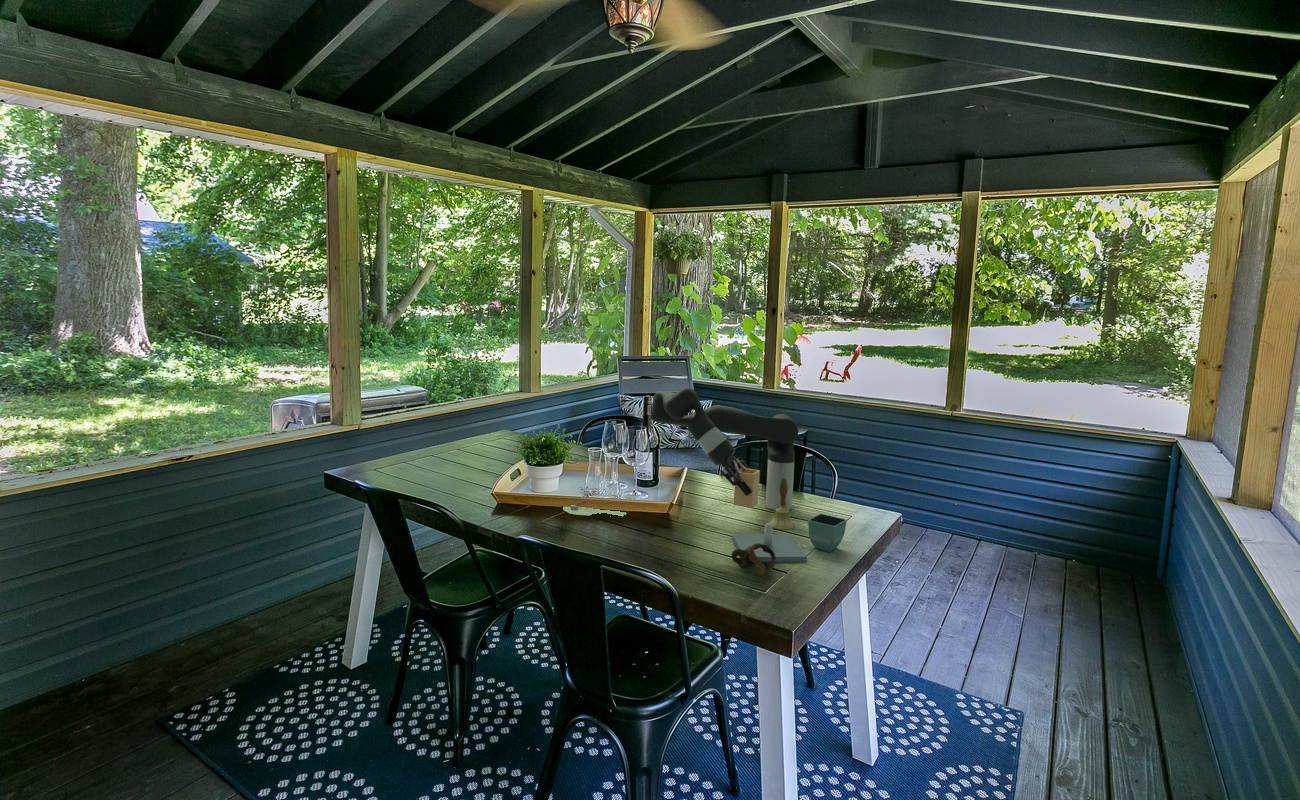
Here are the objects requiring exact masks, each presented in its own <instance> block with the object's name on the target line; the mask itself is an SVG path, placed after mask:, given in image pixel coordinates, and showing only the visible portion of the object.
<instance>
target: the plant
mask: <svg viewBox="0 0 1300 800" xmlns="http://www.w3.org/2000/svg"><path fill="white" fill-rule="evenodd" d="M584 485H587V483H584ZM580 488H581V486H579V489H580ZM587 489H589V486H585V487H584V490H583V488H581V489H580V490H581V491H580V494H583V495H582V498H585V497H589V496H592V497H593V496H594V493H592V490H591V491H590V490H587ZM562 511H564V512H566V513H568V514H570V515H571V514H572V515H578V516H590V515H592V514H597V513H599V514H601V513H607V514H612V515H618V516H622V517H625V516H626V515H627V513H628V512H627V513H626V512H620V511H610V510H600V509H593V508H585V507H578V506H575V505H571V507H563V508H562ZM624 515H625V516H624Z"/></svg>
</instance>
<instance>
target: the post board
mask: <svg viewBox="0 0 1300 800" xmlns="http://www.w3.org/2000/svg"><path fill="white" fill-rule="evenodd" d="M763 531H764V533H743V534H741V533H739V534H737V533H735V534H734V533H732V534H731V540H732V542H733V544H734V543H735V544H734V545H736V546H735V547H737V548H736V549H741V550H745V549H746V548H748V547H750V546H752V545H754V544H756V543H760V544H764V545H766V546H768V547H770V548H771V549H772V550H773V552H774V553H775V556H776V559H775V563H783V562H784V563H785V562H787V563H788V562H789V563H793V562H795V563H799V562H800V563H801V562H807V559H808V557H807V555H806V553H805V552H804V551H803V550H802V548H801V547H800V545H799V544H798V543H797V542H796V541H795V540H794V538H793V536H791V534H790V533H773V531H774V528H773V526H772V524H770V522H767V523H765V525H764V530H763ZM754 553H755V554H756V556H757V557H758V558H759V559H761V560H762V562H761V563H765V562H769V561H771V560H772V558H771V555H770V553H767V552H764V551H763V549H762V548H758V549H756V550H754Z"/></svg>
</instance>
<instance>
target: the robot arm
mask: <svg viewBox="0 0 1300 800" xmlns="http://www.w3.org/2000/svg"><path fill="white" fill-rule="evenodd" d="M651 404H652V405H651V411H650V419H651V420H652V421H653V422H655V423H659V424H666V425H667V424H668V425H673V426H681V427H682V426H685V427H687V429H688V431H689V432H690V434H691V435H692V436H693V437H694V439H695V440H696V441H697V443H698V445H699V446H700V447H701V449H702V451H704V453H705V454H706V455H707V456H708V458H709V459H710V460H711V462H712V463H713V464H714V465H715V466H716V467H718V466H719V465H721V466H722V468H721V469H720V470H719V472H720V473H721V475H722V476H723V477H724V478H725V479H726V480H727V481H728V482H729V483H730V484H731V486H732V487H735V485H736V486H738V487H739V488H740V489H741V490H742V492H743V493H744V494H745V495H746V496H748V495H749V494H750V493H751V492H752V490H751V489H750V488H749V487H748V485H747V484H746V483H745V482H744V480H743V479H742V477H741V476H740V469H741V468H742V469H743V472H745V471H746V469H745V468H747V469H750V467H749V466H748V464H747V463H746V462H745V460H744V459H743V457H741V456H739V457H736V456H735V455H734V454H735V453H736V448H735V447H734V445H732V443H731V442H730V441H729V440H728V438H727V437H726V435H725V434H731V435H741V436H751V437H758V438H762V439H766V440H767V443H766V445H767V447H766V449H767V469H766V470H767V473H766V476H767V477H766V490H765V491H766V493H765V507H767V508H768V509H770V510H773V511H776V509H777V508H780V503H781V495H780V483H781V481H782V478H785V479H786V482H787V486H788V490H787V495H786V508H787V509H789V510H792V507H793V495H794V494H793V492H794V491H793V489H794V473H795V458H796V455H795V449H794V441H795V440H796V438H797V437H798V435H799V426H798V425H797V422H796V421H795V420H794V419H793V418H792V417H790V416H789V415H788V414H784V413H779V414H776V415H774V416H773V417H772V416H771V417H770V416H763V415H758V414H756V413H752V412H749V411H746V410H744V409H740V408H737V407H734V406H726V405H721V404H715V405H711V406H709V407H707V408H704V407H703V405H702V403H701V401H700V397H699V396H698V394H697V391H695V390H694V389H693V388H692V387H689V386H685V387H682V388H681V389H680V390H679V391H677V392H676V393H675V392H673V391H667V390H658V391H657V392H655V394H654V395H653V398H652V403H651ZM692 411H694V412H695V413H691V412H692ZM690 413H691V414H690ZM724 433H725V434H724ZM736 472H737V473H736ZM737 476H738V477H737ZM735 479H736V480H735Z"/></svg>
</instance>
